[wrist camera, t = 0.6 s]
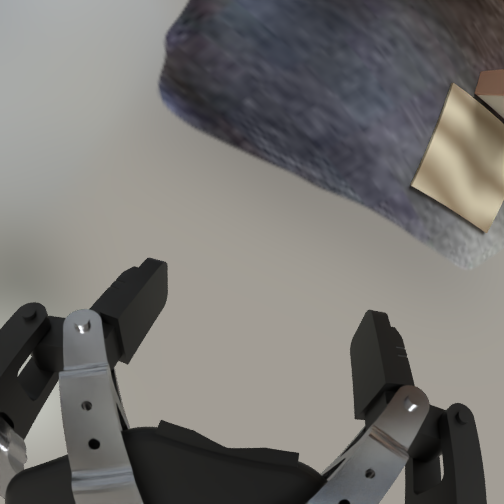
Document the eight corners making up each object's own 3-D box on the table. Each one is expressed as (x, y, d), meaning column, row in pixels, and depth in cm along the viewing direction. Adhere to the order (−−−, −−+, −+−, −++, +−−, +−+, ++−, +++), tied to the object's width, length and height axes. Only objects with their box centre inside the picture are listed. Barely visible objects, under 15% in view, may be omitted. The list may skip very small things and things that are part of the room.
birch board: (451, 83, 26) (453, 82, 25) (522, 144, 26) (525, 145, 25) (410, 184, 33) (411, 185, 33) (484, 231, 33) (486, 233, 33)
